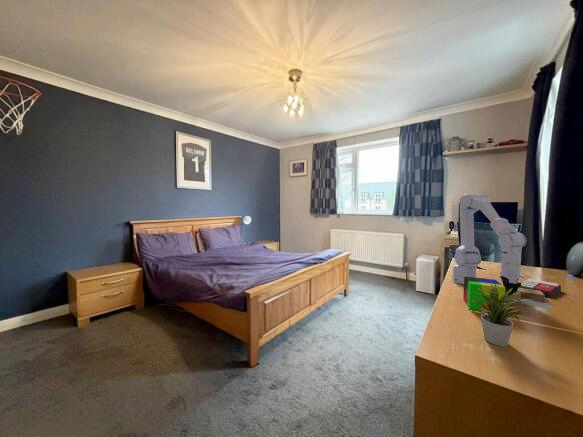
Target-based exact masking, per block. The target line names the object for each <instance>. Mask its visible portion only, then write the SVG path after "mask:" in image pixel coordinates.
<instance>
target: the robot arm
mask: <svg viewBox="0 0 583 437" xmlns="http://www.w3.org/2000/svg"><path fill="white" fill-rule="evenodd" d="M491 201H492V200H491V198H490V197H489V195H488V194H487V193H463V194H462V195H461V197H460V198H459V221H460V222H459V223H460V227H459V228H460V246H459V247H457V248H456V249H455V253H454V256H453V257H454V258H453V259H454V262H455V263H454V264H453V270H452V275H451V277H452V283H453V284H461V285H464V276H465V277H475V278H477V267H478V266H479V265H480V264H481V262H482V256H481V254H480V249H479V248H478V247H476V246H475V222H474V221H475V218H474V217H475V215H474V214H475V213H476V212H478V211H479V210H480V211H481V212H482V213H483V215H484V216H485V217H486V218H487V219H488V221H490V225H489V226H490V227H491V229H492V230H493V231H494V233H495V234H496V235H497V237H498V241H497V242H498V244H499V246H500V250H501V264H500V265H501V267H500V274H499V278H500V279H501V283H502V285H503V286H504V287H505V292H507V291H508V290H509V289H511V288H512V290H511V292H510V293H509V295H508V296H507V298H508V297H509V296H510V295H512V294H514V293H516V292H517V290H518V288H519V287H520V286H521V283H522V282H518V281H519V279H520V278H525V275H524V274H521V265H522V264H521V263H522V249H523V247H525V246H526V244H527V237H526V236H525V234H524V233H521V232H519V231H517V230H516V229H515V228H514V227H513V226H512V225H511V224H510V222H509V220H508V219H506V218H504V217H500V215H499V214H498V213H497V211H496V210H495V208H494V207H493V205H492V203H491Z"/></svg>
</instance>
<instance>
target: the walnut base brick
mask: <svg viewBox="0 0 583 437" xmlns="http://www.w3.org/2000/svg"><path fill="white" fill-rule="evenodd" d="M518 290H519V291H520V293H521V296H520V298H526V299H533V300H539V301H544V298H546V297H545V295H544V294H543V293H542V292H541V291H538V290H532V289H525V288H518Z"/></svg>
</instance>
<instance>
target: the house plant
mask: <svg viewBox="0 0 583 437" xmlns="http://www.w3.org/2000/svg"><path fill="white" fill-rule="evenodd" d="M478 290H479V291H480V292H481V294H482V295H483V297H484V298H485V300H486V302H487V303H486V302H485V303H486V304H488V305H487V306H488V308H489V310H490V311H489V310H488V309H487V307H486V306H485V305H484V304H483V303H481V302H480V301H478V300H472V301H474V302H476V303H478V304H479V305H481V306H482V307H484V308H485V309H483V308H482V309H481V312H480V319H481V325H482V331H483V338H484V340H485V341H486V340H487V341H488V342H487V341H486V342H487V343H489V342H490V343H489V344H491V343H492V344H491V345H494V344H495V345H494V346H497V345H499V346H498V347H508V346H509V342H510V339H511V335H512V332H513V328H514V325H515V323H514V322H513V321H512V320H510V319H508V318H510V317H513V319H515V320H517V322H520V318H519V317H518V316H526V315H527V313H530V311H527V310H521V309H519V308H512V307H514V306H528V304H520V303H521V302H525V301H522V300H533V299H521V300H515V299H514V298H515V296H516V295H517V294H519V293H520V292H517V293H514V294H512V295H510V296H509V297H508V298H507V296H508V295H509V293H510V292H511V290H512V288H511V289H509V290H508V291H507V292H506V293H505V294H504V295H503V296H502V297H501V298H500V300H499V294H498V291H497V286H496V283H495V288H494V286H493V285H491V290H490V292H489V291H488V292H489V293H490V298H489V297H488V296H486V295H485V293H484V292H483V291H482V290H480V289H479V288H478ZM477 294H478V293H477ZM478 295H479V294H478ZM479 296H480V295H479ZM480 297H481V296H480ZM481 298H482V297H481ZM482 299H483V298H482ZM483 300H484V299H483ZM512 300H515V301H514V302H517V303H514V302H512V303H511V301H512ZM518 301H520V302H518ZM527 303H529V302H527ZM529 307H534V305H529ZM512 311H513V312H512ZM526 312H527V313H526Z"/></svg>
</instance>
